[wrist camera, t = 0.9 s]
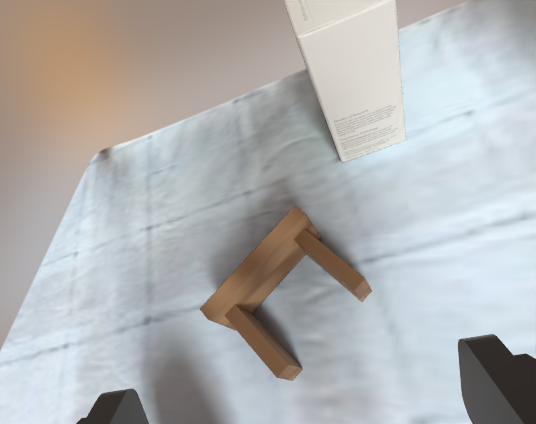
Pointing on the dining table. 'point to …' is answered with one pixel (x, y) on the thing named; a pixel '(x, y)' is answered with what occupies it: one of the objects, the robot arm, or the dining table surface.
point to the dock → (265, 281)
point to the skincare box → (353, 70)
